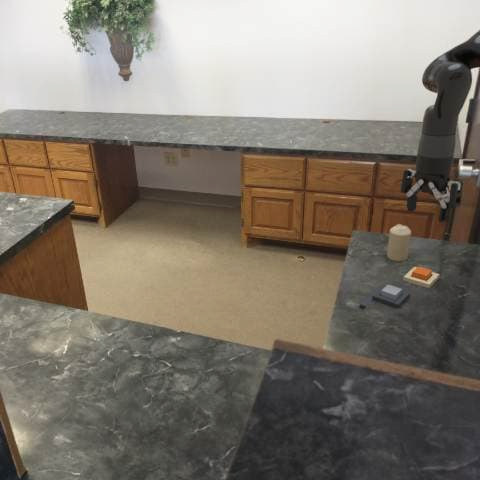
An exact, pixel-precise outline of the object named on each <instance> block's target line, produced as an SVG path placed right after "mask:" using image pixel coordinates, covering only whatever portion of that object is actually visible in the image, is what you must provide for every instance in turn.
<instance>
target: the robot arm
mask: <svg viewBox="0 0 480 480" xmlns="http://www.w3.org/2000/svg"><path fill="white" fill-rule="evenodd" d="M476 68H477V69H478V68H480V29H479V30H478V31H476V32H475V33H474V34H473V35H471V36H470V37H469V38H468V39H467V40H465V41H464V42H462V43H460V44H458V45H456V46H454V47H452V48H451V49H448V50H447V51H445V52H444V53H442V54H441V55H439V56H437V57H436V58H435V59H433V60H432V61H431V62H430V63H429V64H428V65H427V66H426V68H425V69H424V71H423V73H422V75H421V76H422V77H421V83H422V86H423V87H424V88H425V89H426V90H427V91H429V92H432V93H436V99H435V102H434V104H432V105H431V104H430V105H429V106H427V107H426V108H425V110H424V113H423V117H422V125H421V131H420V137H419V140H418V146H417V155H416V161H415V168H414V167H411V168H407V169H405V170H404V171H403V173H402V180H401V185H400V193H402V194H405V195H406V197H407V198H406V209H407V211H408V212H414V211H416V209H417V205H418V204H417V203H418V196H417V195H418V194H419V193H420V192H421V193H425V194H428V195H430V196H434V197H435V200H437V201H438V202H439V204H440V210H439V215H438V222H439V223H445V222H447V221H448V220H450V218H451V217H450V216H451V210H452V209H455V208H456V207H459V206H461V205H462V196H463V187H464V182H463V181H462V180H458V181H454V180H451V176H450V175H451V174H452V171H453V165H454V158H455V151H456V145H457V131H458V127H459V119H460V115H461V114H460V113H461V111H462V110H463V107H464V106H465V103H466V101H467V98H468V96H469V93H470V92H471V89H472V84H473V73H472V70H474V69H476ZM414 180H415V182H416V183H415V184H414V185H413V182H414ZM441 193H442V194H441Z"/></svg>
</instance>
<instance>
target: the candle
mask: <svg viewBox="0 0 480 480" xmlns="http://www.w3.org/2000/svg"><path fill="white" fill-rule="evenodd" d="M388 235H389V236H388V245H387V256H386V257H387V259H389V260H391V261H394V262H405V261H408V258H409V253H410V244H411V236H412V230H411V229H410V228H409V227H408V225H403V224H401V223H397V224H396V225H394V226H392V227H391V228H390V229H389V234H388Z"/></svg>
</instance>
